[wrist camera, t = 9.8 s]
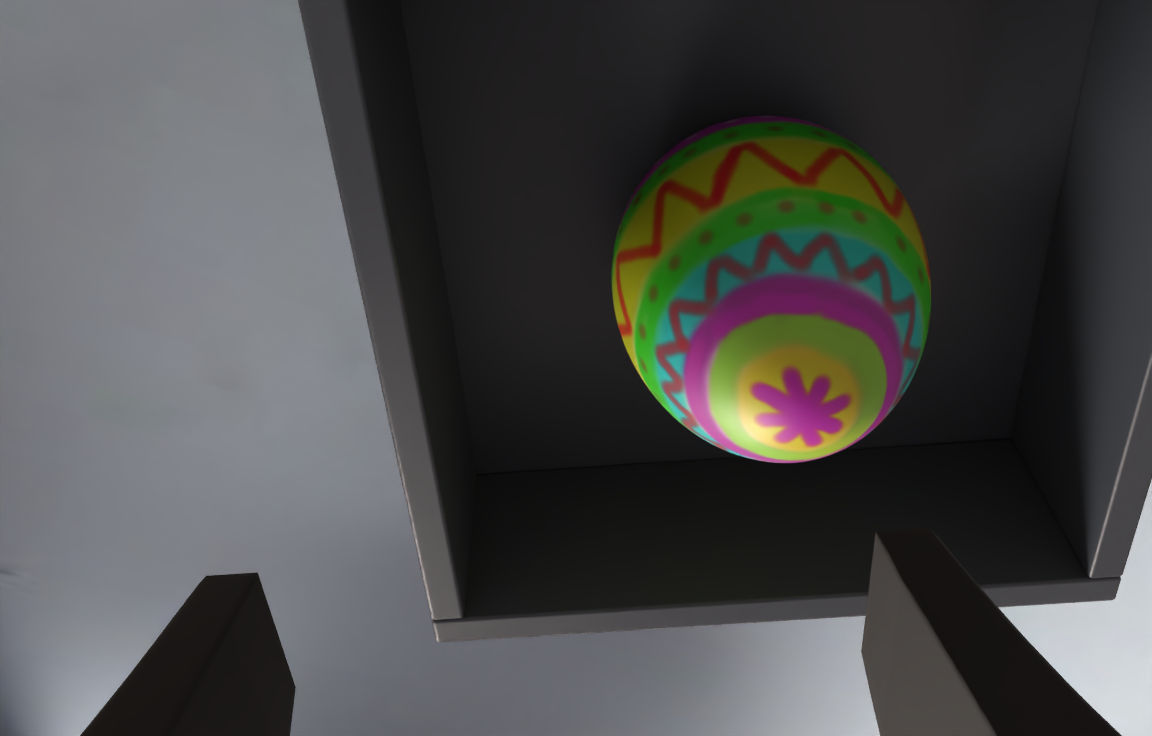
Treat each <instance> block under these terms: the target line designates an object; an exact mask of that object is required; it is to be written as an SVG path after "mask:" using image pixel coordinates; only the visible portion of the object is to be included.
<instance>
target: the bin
mask: <svg viewBox="0 0 1152 736" xmlns="http://www.w3.org/2000/svg"><path fill="white" fill-rule="evenodd" d="M298 3H299V8H300V13H301V17H302V22H303V26H304V31H305V36H306V40H307V45H308V50H309V54H310V59H311V63H312V68H313V73H314V77H315V82H316V87H317V91H318V96H319V100H320V105H321V110H322V114H323V119H324V124H325V128H326V133H327V138H328V142H329V147H330V151H331V156H332V161H333V165H334V170H335V175H336V179H337V184H338V188H339V193H340V198H341V202H342V207H343V212H344V216H345V221H346V225H347V230H348V235H349V239H350V244H351V249H352V253H353V258H354V263H355V267H356V272H357V276H358V281H359V286H360V290H361V295H362V300H363V304H364V309H365V313H366V318H367V323H368V327H369V332H370V337H371V341H372V346H373V351H374V355H375V360H376V364H377V369H378V374H379V378H380V383H381V388H382V392H383V397H384V401H385V406H386V411H387V415H388V420H389V425H390V429H391V434H392V438H393V443H394V448H395V452H396V457H397V462H398V466H399V471H400V476H401V480H402V485H403V489H404V494H405V499H406V503H407V508H408V513H409V517H410V522H411V526H412V531H413V536H414V540H415V545H416V550H417V554H418V559H419V563H420V568H421V573H422V577H423V582H424V587H425V591H426V596H427V601H428V605H429V610H430V614H431V617H432V623H433V628H434V633H435V637H436V640H437V642H454V641H470V640H486V639H502V638H517V637H533V636H549V635H565V634H581V633H597V632H613V631H629V630H645V629H661V628H677V627H693V626H709V625H724V624H740V623H756V622H772V621H788V620H804V619H820V618H836V617H852V616H866V609H867V601H868V592H869V584H870V576H871V567H872V559H873V551H874V542H875V534H876V532H879V531H894V530H909V529H925V528H929V529H930V530H932V531H933V532H934V533H935V534H936V535H937V536H938V537H939V538H940V539H941V541H942V542H943V543H944V544H945V546H946V547H947V548H948V549H949V550H950V552H951V553H952V554H953V555H954V556H955V558H956V559H957V560H958V561H959V563H960V564H961V565H962V566H963V567H964V569H965V570H966V571H967V572H968V573H969V574H970V576H971V577H972V578H973V579H974V580H975V582H976V583H977V584H978V585H979V586H980V587H981V589H982V590H983V591H984V592H985V593H986V594H987V596H988V597H989V598H990V599H991V600H992V601H993V602H994V604H995V605H996V606H997V607H1011V606H1027V605H1043V604H1059V603H1075V602H1091V601H1107V600H1113V599H1115V597H1116V594H1117V590H1118V587H1119V584H1120V581H1121V577H1120V576H1121V575H1122V574H1123V571H1124V568H1125V565H1126V561H1127V558H1128V555H1129V551H1130V548H1131V545H1132V542H1133V538H1134V535H1135V532H1136V528H1137V525H1138V522H1139V519H1140V515H1141V512H1142V509H1143V505H1144V502H1145V499H1146V495H1147V492H1148V489H1149V486H1150V482H1151V479H1152V0H298ZM762 115H770V116H784V117H791V118H796V119H801V120H805V121H809V122H812V123H815V124H818V125H821V126H823V127H826V128H828V129H830V130H833V131H835V132H837V133H839V134H841V135H842V136H844V137H846V138H847V139H849V140H851V141H852V142H853V143H855V144H856V145H858V146H859V147H861V148H862V149H863V150H864V151H866V152H867V153H868V154H869V155H870V156H872V157H873V158H874V159H875V160H876V161H877V162H878V163H879V164H880V165H881V166H882V167H883V169H884V170H885V171H886V172H887V173H888V174H889V175H890V177H891V178H892V179H893V180H894V182H895V183H896V185H897V186H898V187H899V189H900V190H901V192H902V194H903V195H904V197H905V199H906V200H907V202H908V204H909V206H910V208H911V210H912V212H913V214H914V216H915V219H916V221H917V223H918V226H919V229H920V232H921V235H922V238H923V241H924V244H925V248H926V253H927V258H928V263H929V270H930V279H931V311H930V321H929V327H928V333H927V338H926V342H925V346H924V350H923V353H922V356H921V359H920V362H919V364H918V367H917V369H916V372H915V374H914V376H913V378H912V380H911V382H910V384H909V386H908V388H907V389H906V391H905V393H904V394H903V396H902V397H901V399H900V400H899V402H898V403H897V405H896V406H895V407H894V408H893V410H892V411H891V412H890V413H889V414H888V415H887V416H886V418H885V419H884V420H883V421H882V422H881V423H880V424H879V425H878V426H877V427H876V428H875V429H873V430H872V431H871V432H870V433H869V434H867V435H866V436H865V437H863V438H862V439H860V440H859V441H857V442H856V443H854V444H853V445H851V446H849V447H847V448H845V449H843V450H841V451H839V452H837V453H834V454H832V455H829V456H826V457H823V458H819V459H815V460H811V461H805V462H796V463H774V462H765V461H759V460H754V459H750V458H746V457H742V456H739V455H736V454H733V453H730V452H728V451H725V450H723V449H721V448H719V447H716V446H714V445H712V444H711V443H709V442H707V441H705V440H703V439H702V438H700V437H699V436H697V435H696V434H694V433H693V432H691V431H690V430H689V429H687V428H686V427H685V426H684V425H682V424H681V423H680V422H679V421H678V420H676V419H675V418H674V417H673V416H672V415H671V414H670V413H669V412H668V411H667V410H666V409H665V408H664V407H663V406H662V405H661V403H660V402H659V401H658V400H657V399H656V398H655V396H654V395H653V394H652V393H651V391H650V390H649V389H648V387H647V386H646V384H645V383H644V381H643V380H642V378H641V377H640V375H639V373H638V372H637V370H636V368H635V366H634V364H633V362H632V360H631V358H630V356H629V354H628V352H627V350H626V347H625V345H624V342H623V339H622V336H621V333H620V330H619V327H618V323H617V319H616V315H615V310H614V304H613V296H612V258H613V251H614V245H615V240H616V235H617V231H618V228H619V225H620V222H621V219H622V216H623V214H624V211H625V209H626V207H627V204H628V202H629V200H630V198H631V197H632V195H633V193H634V191H635V190H636V188H637V186H638V185H639V183H640V182H641V180H642V179H643V178H644V176H645V175H646V174H647V172H648V171H649V170H650V169H651V168H652V167H653V165H654V164H655V163H656V162H657V161H658V160H659V159H660V158H661V157H662V156H664V155H665V154H666V153H667V152H668V151H669V150H670V149H672V148H673V147H674V146H676V145H677V144H678V143H680V142H681V141H683V140H684V139H686V138H687V137H689V136H691V135H693V134H695V133H696V132H698V131H701V130H703V129H705V128H707V127H710V126H712V125H715V124H717V123H721V122H724V121H727V120H731V119H736V118H741V117H748V116H762Z"/></svg>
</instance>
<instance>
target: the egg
mask: <svg viewBox="0 0 1152 736" xmlns="http://www.w3.org/2000/svg"><path fill="white" fill-rule="evenodd" d="M612 296H613V304H614V310H615V315H616V319H617V323H618V327H619V330H620V333H621V336H622V339H623V342H624V345H625V347H626V350H627V352H628V354H629V356H630V358H631V360H632V362H633V364H634V366H635V368H636V370H637V372H638V373H639V375H640V377H641V378H642V380H643V381H644V383H645V384H646V386H647V387H648V389H649V390H650V391H651V393H652V394H653V395H654V396H655V398H656V399H657V400H658V401H659V402H660V403H661V405H662V406H663V407H664V408H665V409H666V410H667V411H668V412H669V413H670V414H671V415H672V416H673V417H674V418H675V419H676V420H678V421H679V422H680V423H681V424H682V425H684V426H685V427H686V428H687V429H689V430H690V431H691V432H693V433H694V434H696V435H697V436H699V437H700V438H702V439H703V440H705V441H707V442H709V443H711V444H712V445H714V446H716V447H719V448H721V449H723V450H725V451H728V452H730V453H733V454H736V455H739V456H742V457H746V458H750V459H754V460H759V461H765V462H774V463H796V462H805V461H811V460H815V459H819V458H823V457H826V456H829V455H832V454H834V453H837V452H839V451H841V450H843V449H845V448H847V447H849V446H851V445H853V444H854V443H856V442H857V441H859V440H860V439H862V438H863V437H865V436H866V435H867V434H869V433H870V432H871V431H872V430H873V429H875V428H876V427H877V426H878V425H879V424H880V423H881V422H882V421H883V420H884V419H885V418H886V416H887V415H888V414H889V413H890V412H891V411H892V410H893V408H894V407H895V406H896V405H897V403H898V402H899V400H900V399H901V397H902V396H903V394H904V393H905V391H906V389H907V388H908V386H909V384H910V382H911V380H912V378H913V376H914V374H915V372H916V369H917V367H918V364H919V362H920V359H921V356H922V353H923V350H924V346H925V342H926V338H927V333H928V327H929V321H930V311H931V279H930V270H929V263H928V258H927V253H926V248H925V244H924V241H923V238H922V235H921V232H920V229H919V226H918V223H917V221H916V219H915V216H914V214H913V212H912V210H911V208H910V206H909V204H908V202H907V200H906V199H905V197H904V195H903V194H902V192H901V190H900V189H899V187H898V186H897V185H896V183H895V182H894V180H893V179H892V178H891V177H890V175H889V174H888V173H887V172H886V171H885V170H884V169H883V167H882V166H881V165H880V164H879V163H878V162H877V161H876V160H875V159H874V158H873V157H872V156H870V155H869V154H868V153H867V152H866V151H864V150H863V149H862V148H861V147H859V146H858V145H856V144H855V143H853V142H852V141H851V140H849V139H847V138H846V137H844V136H842V135H841V134H839V133H837V132H835V131H833V130H830V129H828V128H826V127H823V126H821V125H818V124H815V123H812V122H809V121H805V120H801V119H796V118H791V117H784V116H770V115H762V116H748V117H741V118H736V119H731V120H727V121H724V122H721V123H717V124H715V125H712V126H710V127H707V128H705V129H703V130H701V131H698V132H696V133H695V134H693V135H691V136H689V137H687V138H686V139H684V140H683V141H681V142H680V143H678V144H677V145H676V146H674V147H673V148H672V149H670V150H669V151H668V152H667V153H666V154H665V155H664V156H662V157H661V158H660V159H659V160H658V161H657V162H656V163H655V164H654V165H653V167H652V168H651V169H650V170H649V171H648V172H647V174H646V175H645V176H644V178H643V179H642V180H641V182H640V183H639V185H638V186H637V188H636V190H635V191H634V193H633V195H632V197H631V198H630V200H629V202H628V204H627V207H626V209H625V211H624V214H623V216H622V219H621V222H620V225H619V228H618V231H617V235H616V240H615V245H614V251H613V258H612Z"/></svg>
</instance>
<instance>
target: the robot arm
mask: <svg viewBox="0 0 1152 736" xmlns="http://www.w3.org/2000/svg"><path fill="white" fill-rule="evenodd" d="M861 652H862V656H863V661H864V666H865V670H866V675H867V680H868V684H869V689H870V693H871V698H872V702H873V706H874V711H875V715H876V719H877V723H878V728H879V732H880V736H1121V735H1120V734H1119V733H1118V732H1117V731H1116V730H1115V729H1114V728H1113V727H1112V726H1111V725H1110V724H1109V723H1108V722H1107V721H1106V720H1105V719H1104V718H1103V717H1102V716H1101V715H1100V714H1098V713H1097V712H1096V711H1095V710H1094V709H1093V708H1092V707H1091V706H1090V705H1089V704H1088V703H1087V702H1086V701H1085V700H1084V699H1083V698H1082V697H1081V696H1080V695H1079V694H1078V693H1077V692H1076V691H1075V690H1074V689H1073V688H1072V687H1071V686H1070V685H1069V684H1068V683H1067V682H1066V681H1065V680H1064V679H1063V677H1062V676H1061V675H1060V674H1059V673H1058V672H1057V671H1056V670H1055V669H1054V668H1053V667H1052V666H1051V665H1050V664H1049V663H1048V662H1047V661H1046V659H1045V658H1044V657H1043V656H1042V655H1041V654H1040V653H1039V652H1038V651H1037V650H1036V649H1035V648H1034V647H1033V646H1032V645H1031V644H1030V643H1029V641H1028V640H1027V639H1026V638H1025V637H1024V636H1023V635H1022V634H1021V633H1020V632H1019V631H1018V629H1017V628H1016V627H1015V626H1014V625H1013V624H1012V623H1011V622H1010V621H1009V620H1008V618H1007V617H1006V616H1005V615H1004V614H1003V613H1002V612H1001V610H1000V609H999V608H998V607H997V606H996V605H995V604H994V602H993V601H992V600H991V599H990V598H989V597H988V596H987V594H986V593H985V592H984V591H983V590H982V589H981V587H980V586H979V585H978V584H977V583H976V582H975V580H974V579H973V578H972V577H971V576H970V574H969V573H968V572H967V571H966V570H965V569H964V567H963V566H962V565H961V564H960V563H959V561H958V560H957V559H956V558H955V556H954V555H953V554H952V553H951V552H950V550H949V549H948V548H947V547H946V546H945V544H944V543H943V542H942V541H941V539H940V538H939V537H938V536H937V535H936V534H935V533H934V532H933V531H932V530H930V529H929V528H925V529H909V530H894V531H879V532H876V534H875V542H874V551H873V559H872V567H871V576H870V584H869V592H868V601H867V609H866V617H865V626H864V634H863V642H862V651H861ZM295 688H296V687H295V684H294V681H293V678H292V675H291V672H290V669H289V666H288V663H287V660H286V657H285V654H284V651H283V648H282V645H281V642H280V639H279V636H278V633H277V630H276V627H275V624H274V621H273V618H272V615H271V612H270V609H269V606H268V603H267V600H266V597H265V594H264V591H263V588H262V584H261V581H260V578H259V575H258V573H243V574H227V575H212V576H206V577H205V578H204V579H203V580H202V581H201V582H200V583H199V584H198V586H197V587H196V588H195V590H194V591H193V592H192V593H191V595H190V596H189V597H188V599H187V600H186V601H185V603H184V604H183V605H182V607H181V608H180V609H179V611H178V612H177V613H176V614H175V616H174V617H173V618H172V620H171V621H170V622H169V624H168V625H167V626H166V628H165V629H164V630H163V632H162V633H161V634H160V636H159V637H158V638H157V640H156V641H155V642H154V644H153V645H152V646H151V647H150V649H149V650H148V651H147V653H146V654H145V655H144V656H143V658H142V659H141V660H140V662H139V663H138V664H137V666H136V667H135V668H134V669H133V671H132V672H131V673H130V675H129V676H128V677H127V678H126V680H125V681H124V682H123V683H122V685H121V686H120V687H119V688H118V690H117V691H116V692H115V693H114V695H113V696H112V697H111V698H110V700H109V701H108V702H107V703H106V704H105V706H104V707H103V708H102V709H101V711H100V712H99V713H98V714H97V716H96V717H95V718H94V719H93V721H92V722H91V723H90V724H89V726H88V727H87V728H86V729H85V730H84V732H83V733H82V734H81V735H80V736H290V729H291V721H292V713H293V704H294V696H295Z"/></svg>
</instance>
